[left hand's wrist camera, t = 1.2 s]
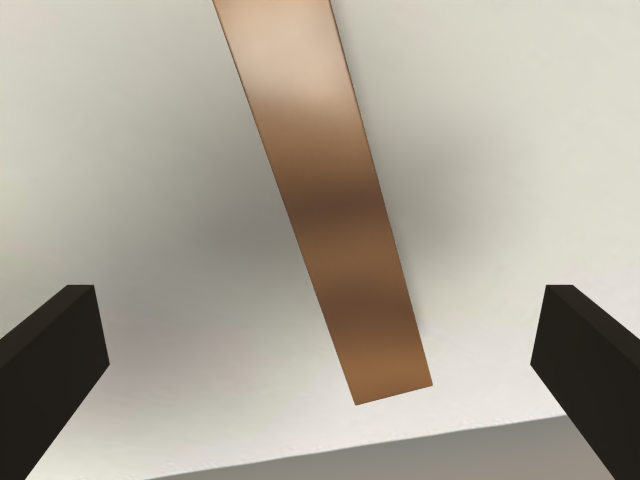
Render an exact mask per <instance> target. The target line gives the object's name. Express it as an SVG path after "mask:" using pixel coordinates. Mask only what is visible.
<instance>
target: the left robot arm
mask: <svg viewBox="0 0 640 480" xmlns="http://www.w3.org/2000/svg"><path fill="white" fill-rule="evenodd" d="M109 365H110V363H109V358H108V353H107V348H106V343H105V338H104V333H103V328H102V323H101V318H100V313H99V308H98V303H97V298H96V293H95V288H94V285H67V286H65V287H64V288H63V289H62V290H61V291H59V292H58V293H57V294H56V295H54V296H53V297H52V298H51V299H49V300H48V301H47V302H46V303H45V304H43V305H42V306H41V307H40V308H38V309H37V310H36V311H35V312H33V313H32V314H31V315H30V316H29V317H27V318H26V319H25V320H24V321H22V322H21V323H20V324H19V325H17V326H16V327H15V328H14V329H13V330H11V331H10V332H9V333H8V334H6V335H5V336H4V337H3V338H1V339H0V480H25V479H26V477H27V476H28V475H29V473H30V472H31V471H32V469H33V468H34V467H35V465H36V464H37V463H38V461H39V460H40V458H41V457H42V456H43V454H44V453H45V452H46V450H47V449H48V448H49V446H50V445H51V444H52V442H53V441H54V440H55V438H56V437H57V435H58V434H59V433H60V431H61V430H62V429H63V427H64V426H65V425H66V423H67V422H68V421H69V419H70V418H71V416H72V415H73V414H74V412H75V411H76V410H77V408H78V407H79V406H80V404H81V403H82V402H83V400H84V399H85V397H86V396H87V395H88V393H89V392H90V391H91V389H92V388H93V387H94V385H95V384H96V383H97V381H98V380H99V379H100V377H101V376H102V374H103V373H104V372H105V370H106V369H107V368H108V366H109ZM530 365H531V366H532V368H533V369H534V370H535V372H536V373H537V374H538V376H539V377H540V379H541V380H542V381H543V383H544V384H545V385H546V387H547V388H548V389H549V391H550V392H551V393H552V395H553V396H554V397H555V399H556V400H557V402H558V403H559V404H560V406H561V407H562V408H563V410H564V411H565V412H566V414H567V415H568V416H569V418H570V419H571V421H572V422H573V423H574V424H575V426H576V427H577V429H578V430H579V431H580V433H581V434H582V435H583V437H584V438H585V439H586V441H587V442H588V444H589V445H590V446H591V448H592V449H593V450H594V452H595V453H596V454H597V456H598V457H599V458H600V460H601V461H602V463H603V464H604V465H605V467H606V468H607V469H608V471H609V472H610V473H611V475H612V476H613V477H614V479H615V480H640V339H639V338H637V337H636V336H635V335H634V334H632V333H631V332H630V331H629V330H627V329H626V328H625V327H624V326H623V325H621V324H620V323H619V322H618V321H616V320H615V319H614V318H613V317H611V316H610V315H609V314H608V313H607V312H605V311H604V310H603V309H602V308H600V307H599V306H598V305H597V304H595V303H594V302H593V301H592V300H591V299H589V298H588V297H587V296H586V295H584V294H583V293H582V292H581V291H579V290H578V289H577V288H576V287H575V286H573V285H546V288H545V293H544V298H543V303H542V308H541V313H540V318H539V323H538V328H537V333H536V338H535V343H534V348H533V353H532V358H531V363H530Z"/></svg>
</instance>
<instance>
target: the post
mask: <svg viewBox="0 0 640 480" xmlns="http://www.w3.org/2000/svg"><path fill="white" fill-rule="evenodd" d="M212 1H213V4H214V6H215V9H216V12H217V15H218V18H219V21H220V23H221V26H222V29H223V32H224V35H225V38H226V40H227V43H228V46H229V49H230V52H231V55H232V57H233V60H234V63H235V66H236V69H237V72H238V74H239V77H240V80H241V83H242V86H243V89H244V92H245V94H246V97H247V100H248V103H249V106H250V109H251V111H252V114H253V117H254V120H255V123H256V126H257V128H258V131H259V134H260V137H261V140H262V143H263V145H264V148H265V151H266V154H267V157H268V160H269V162H270V165H271V168H272V171H273V174H274V177H275V179H276V182H277V185H278V188H279V191H280V194H281V196H282V199H283V202H284V205H285V208H286V211H287V213H288V216H289V219H290V222H291V225H292V228H293V230H294V233H295V236H296V239H297V242H298V245H299V247H300V250H301V253H302V256H303V259H304V262H305V264H306V267H307V270H308V273H309V276H310V279H311V281H312V284H313V287H314V290H315V293H316V296H317V298H318V301H319V304H320V307H321V310H322V313H323V315H324V318H325V321H326V324H327V327H328V330H329V332H330V335H331V338H332V341H333V344H334V347H335V350H336V352H337V355H338V358H339V361H340V364H341V367H342V369H343V372H344V375H345V378H346V381H347V384H348V386H349V389H350V392H351V395H352V398H353V401H354V403H355V405H360V404H364V403H367V402H371V401H375V400H379V399H383V398H387V397H391V396H395V395H398V394H402V393H406V392H410V391H414V390H418V389H422V388H426V387H429V386H432V385H433V383H432V379H431V376H430V372H429V368H428V364H427V361H426V357H425V353H424V350H423V346H422V342H421V338H420V335H419V331H418V327H417V323H416V320H415V316H414V312H413V308H412V305H411V301H410V297H409V294H408V290H407V286H406V282H405V279H404V275H403V271H402V267H401V264H400V260H399V256H398V252H397V249H396V245H395V241H394V237H393V234H392V230H391V226H390V223H389V219H388V215H387V211H386V208H385V204H384V200H383V196H382V193H381V189H380V185H379V181H378V178H377V174H376V170H375V167H374V163H373V159H372V155H371V152H370V148H369V144H368V140H367V137H366V133H365V129H364V125H363V122H362V118H361V114H360V111H359V107H358V103H357V99H356V96H355V92H354V88H353V84H352V81H351V77H350V73H349V69H348V66H347V62H346V58H345V55H344V51H343V47H342V43H341V40H340V36H339V32H338V28H337V25H336V21H335V17H334V13H333V10H332V6H331V2H330V0H212Z"/></svg>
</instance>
